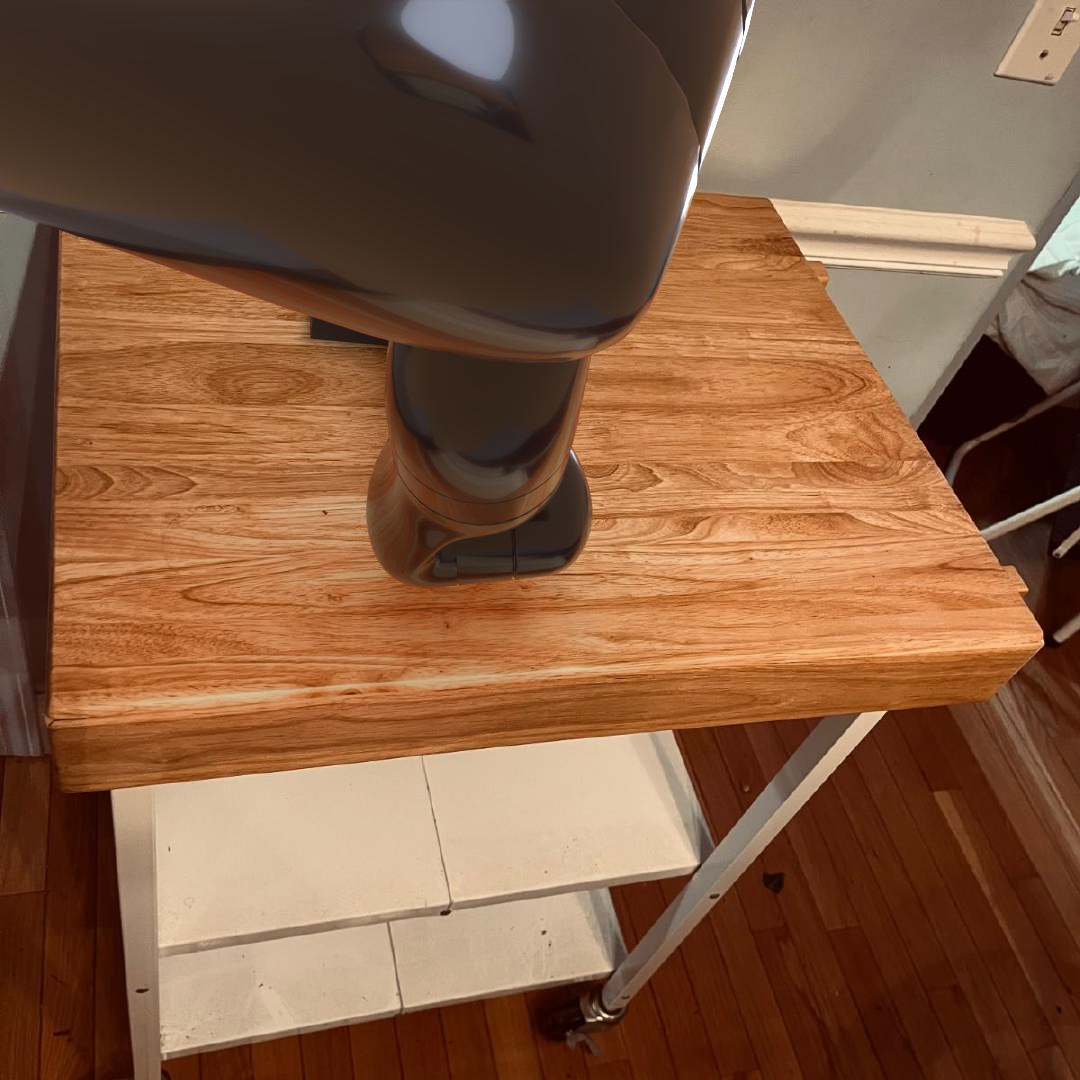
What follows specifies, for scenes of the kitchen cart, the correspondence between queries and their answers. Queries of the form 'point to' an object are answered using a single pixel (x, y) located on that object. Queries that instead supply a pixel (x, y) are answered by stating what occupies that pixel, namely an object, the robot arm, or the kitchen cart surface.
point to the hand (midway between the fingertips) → (429, 143)
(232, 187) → the robot arm
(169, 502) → the kitchen cart surface
